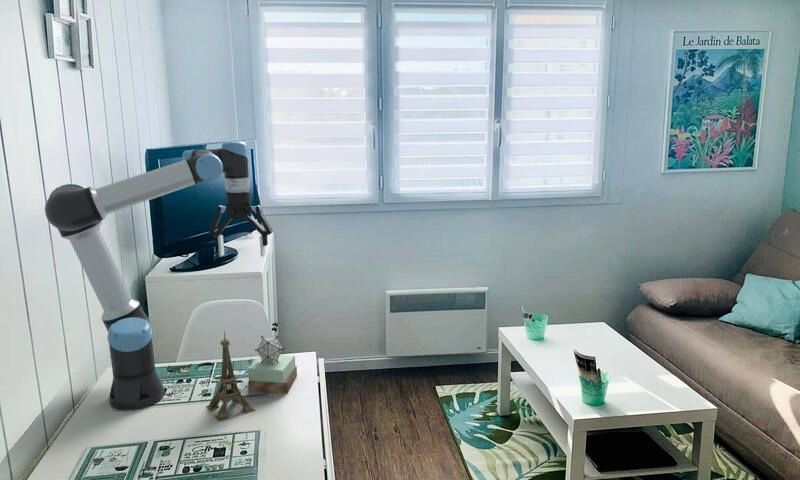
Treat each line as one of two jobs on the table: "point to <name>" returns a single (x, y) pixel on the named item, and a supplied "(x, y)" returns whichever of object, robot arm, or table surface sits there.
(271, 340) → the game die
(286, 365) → the top block
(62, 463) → the table surface
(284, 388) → the base block
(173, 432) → the table surface
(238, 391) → the eiffel tower
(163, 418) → the table surface
